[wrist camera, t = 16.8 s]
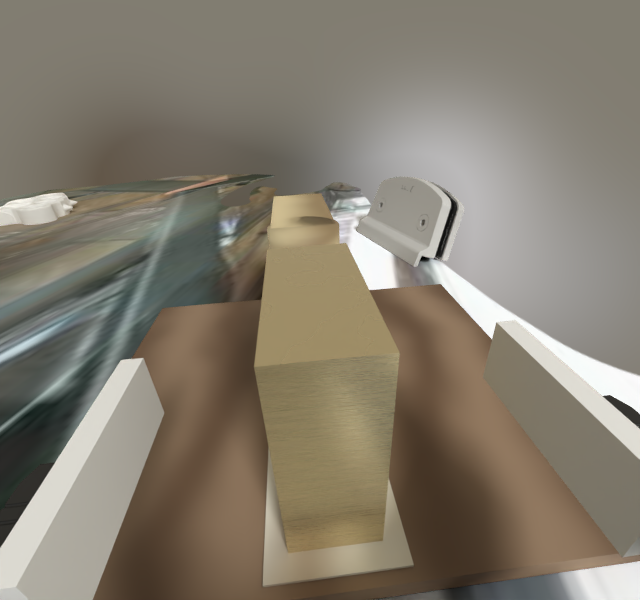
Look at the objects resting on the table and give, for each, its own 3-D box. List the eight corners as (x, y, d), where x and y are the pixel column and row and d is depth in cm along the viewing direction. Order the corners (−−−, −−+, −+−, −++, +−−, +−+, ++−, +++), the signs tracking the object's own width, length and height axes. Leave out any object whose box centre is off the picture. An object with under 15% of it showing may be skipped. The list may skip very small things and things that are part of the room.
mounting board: (-32, 657, 12) (-323, 475, 7) (165, 316, 33) (129, 205, 28) (669, 556, 14) (863, 348, 9) (439, 292, 35) (455, 183, 30)
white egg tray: (13, 213, 79) (84, 204, 84) (-17, 233, 65) (71, 221, 70) (6, 198, 77) (79, 190, 82) (-27, 216, 63) (64, 205, 68)
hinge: (355, 230, 55) (375, 166, 51) (379, 235, 57) (400, 174, 53) (415, 267, 41) (449, 184, 37) (443, 272, 43) (478, 194, 39)
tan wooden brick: (288, 553, 14) (253, 366, 9) (286, 394, 22) (267, 249, 17) (382, 540, 14) (399, 352, 9) (347, 388, 22) (346, 243, 17)
